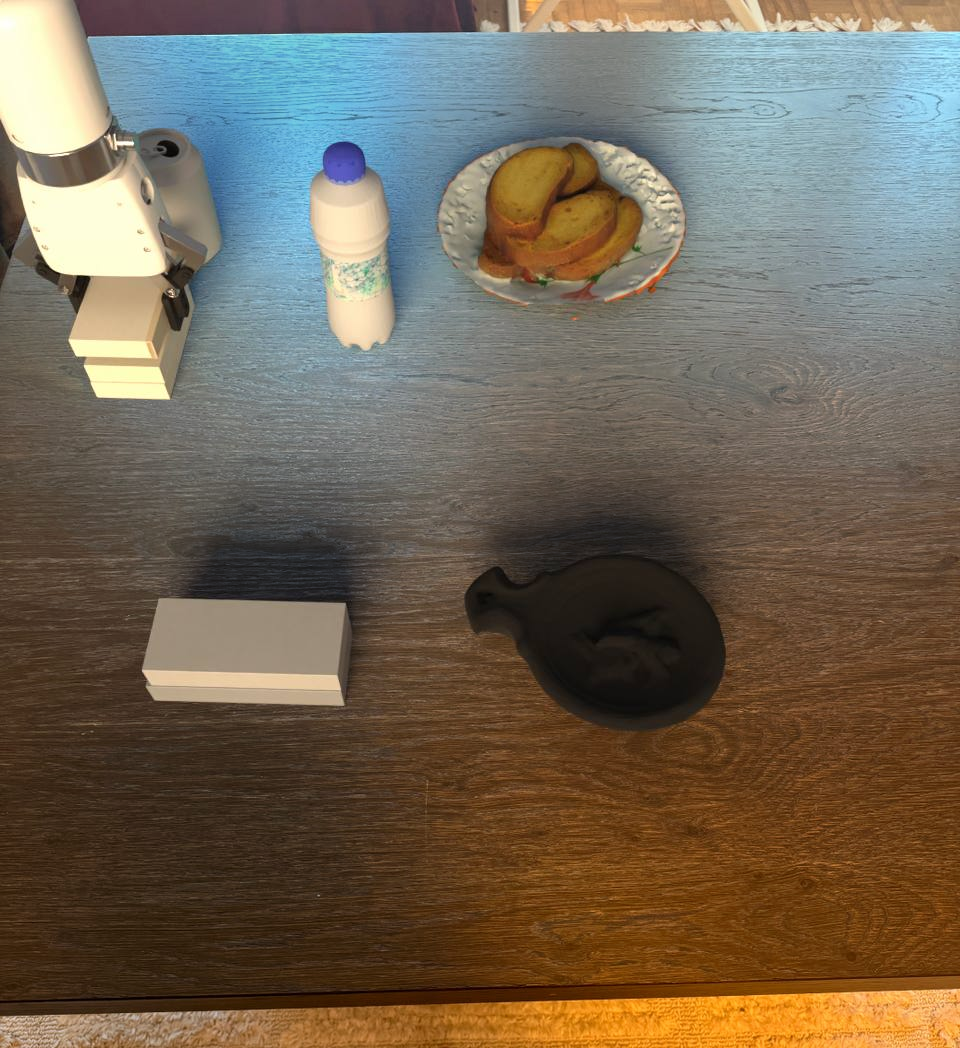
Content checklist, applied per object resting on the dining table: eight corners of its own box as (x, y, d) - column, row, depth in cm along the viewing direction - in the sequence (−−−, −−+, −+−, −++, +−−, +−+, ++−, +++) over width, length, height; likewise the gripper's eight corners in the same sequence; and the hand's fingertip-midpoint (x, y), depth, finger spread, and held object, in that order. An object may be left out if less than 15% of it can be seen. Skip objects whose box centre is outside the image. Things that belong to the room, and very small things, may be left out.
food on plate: (713, 302, 95) (728, 249, 89) (464, 337, 92) (464, 285, 86) (638, 146, 109) (647, 92, 103) (420, 171, 106) (417, 117, 100)
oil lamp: (500, 536, 79) (502, 501, 75) (733, 611, 76) (749, 579, 71) (431, 692, 71) (429, 663, 67) (688, 785, 68) (703, 760, 64)
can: (237, 257, 97) (211, 153, 87) (168, 285, 95) (133, 182, 85) (205, 216, 101) (176, 112, 91) (137, 242, 98) (101, 138, 88)
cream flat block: (109, 261, 89) (102, 243, 87) (185, 263, 89) (179, 245, 87) (76, 356, 82) (67, 339, 81) (158, 358, 82) (151, 341, 81)
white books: (170, 399, 87) (158, 369, 84) (97, 397, 87) (82, 367, 84) (195, 306, 94) (185, 274, 90) (127, 304, 94) (114, 272, 90)
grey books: (154, 700, 71) (135, 671, 67) (170, 628, 74) (153, 596, 70) (344, 706, 71) (337, 677, 67) (352, 633, 74) (346, 601, 70)
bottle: (359, 298, 94) (336, 112, 78) (413, 327, 92) (402, 142, 76) (314, 338, 91) (280, 154, 75) (369, 369, 89) (347, 186, 73)
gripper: (194, 118, 74) (239, 292, 89) (-31, 113, 74) (52, 288, 89) (174, 180, 70) (226, 352, 85) (-64, 174, 70) (29, 347, 85)
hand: (136, 318), depth 87 cm, fingers closed on cream flat block, 7 cm apart
